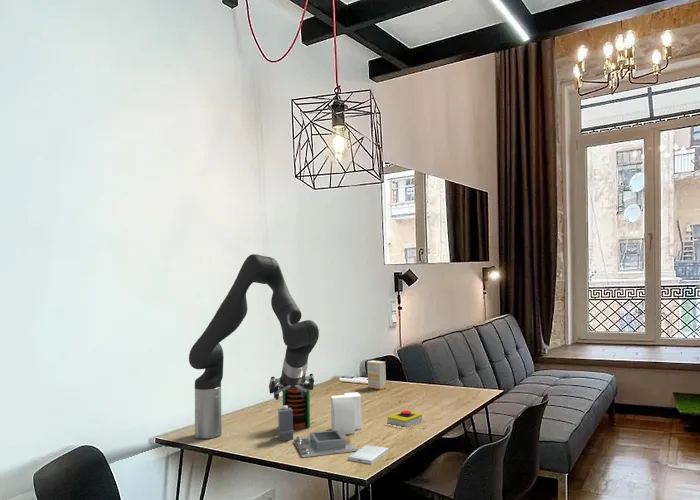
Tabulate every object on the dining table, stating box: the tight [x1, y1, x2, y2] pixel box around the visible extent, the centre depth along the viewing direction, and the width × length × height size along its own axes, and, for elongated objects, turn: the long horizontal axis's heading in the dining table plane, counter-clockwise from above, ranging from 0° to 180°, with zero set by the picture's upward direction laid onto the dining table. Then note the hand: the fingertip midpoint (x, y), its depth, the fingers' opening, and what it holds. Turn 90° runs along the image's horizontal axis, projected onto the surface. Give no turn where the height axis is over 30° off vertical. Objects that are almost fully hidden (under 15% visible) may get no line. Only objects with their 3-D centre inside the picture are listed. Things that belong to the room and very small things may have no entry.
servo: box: [277, 405, 294, 442], centre depth 188 cm, size 4×6×11 cm
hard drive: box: [347, 444, 390, 465], centre depth 169 cm, size 2×8×12 cm
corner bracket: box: [330, 392, 363, 435], centre depth 197 cm, size 11×11×12 cm
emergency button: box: [386, 410, 424, 428], centre depth 204 cm, size 9×4×15 cm
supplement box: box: [366, 359, 387, 391], centre depth 265 cm, size 8×5×13 cm, turn 46°
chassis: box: [293, 429, 359, 458], centre depth 178 cm, size 18×16×3 cm
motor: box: [282, 382, 311, 431], centre depth 202 cm, size 10×9×20 cm
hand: (289, 396), depth 178 cm, fingers open, 8 cm apart
